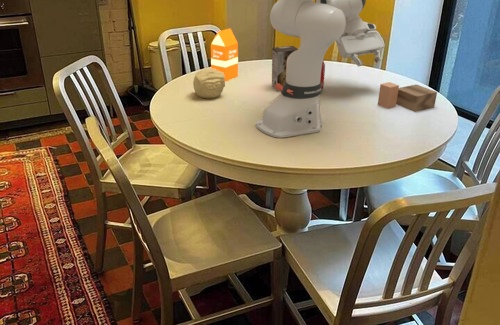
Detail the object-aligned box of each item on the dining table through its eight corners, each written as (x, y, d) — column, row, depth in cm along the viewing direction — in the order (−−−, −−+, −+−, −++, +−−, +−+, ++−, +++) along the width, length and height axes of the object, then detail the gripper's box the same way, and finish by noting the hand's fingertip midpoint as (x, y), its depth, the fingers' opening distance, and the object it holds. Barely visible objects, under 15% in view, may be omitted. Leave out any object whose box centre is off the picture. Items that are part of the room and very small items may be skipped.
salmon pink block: (387, 108, 173) (390, 87, 170) (377, 105, 177) (380, 84, 173) (395, 106, 176) (399, 85, 172) (386, 102, 179) (389, 82, 175)
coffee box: (291, 84, 197) (293, 45, 190) (297, 89, 192) (300, 49, 184) (270, 86, 195) (271, 47, 187) (276, 91, 189) (277, 51, 182)
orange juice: (211, 78, 204) (209, 30, 195) (224, 73, 211) (223, 27, 202) (225, 81, 200) (225, 33, 191) (238, 76, 207) (238, 29, 198)
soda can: (322, 93, 188) (325, 63, 182) (304, 92, 189) (306, 62, 184) (323, 87, 194) (326, 58, 189) (306, 86, 195) (308, 57, 190)
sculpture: (200, 102, 178) (198, 74, 173) (190, 93, 187) (188, 65, 182) (228, 98, 182) (228, 70, 177) (217, 89, 192) (216, 62, 187)
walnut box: (414, 112, 171) (417, 96, 168) (394, 103, 179) (396, 88, 176) (434, 107, 175) (437, 92, 173) (413, 99, 183) (416, 84, 180)
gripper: (338, 30, 173) (354, 63, 170) (378, 24, 183) (394, 55, 180) (328, 40, 178) (344, 72, 176) (368, 33, 188) (383, 64, 186)
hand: (370, 63), depth 178 cm, fingers open, 8 cm apart
